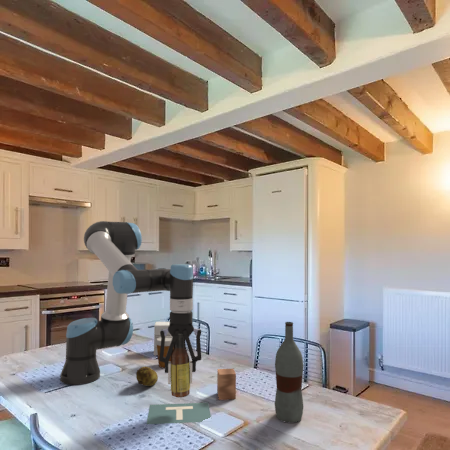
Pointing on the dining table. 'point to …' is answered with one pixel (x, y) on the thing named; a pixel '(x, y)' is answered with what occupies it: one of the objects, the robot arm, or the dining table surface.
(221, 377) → the wooden block
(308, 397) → the dining table surface
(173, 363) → the sauce bottle
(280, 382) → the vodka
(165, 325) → the supplement box
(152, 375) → the potato
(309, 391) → the dining table surface
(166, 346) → the disposable coffee cup
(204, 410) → the letter card
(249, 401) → the dining table surface
